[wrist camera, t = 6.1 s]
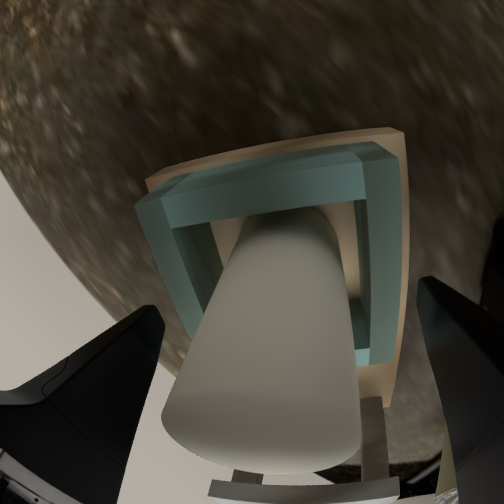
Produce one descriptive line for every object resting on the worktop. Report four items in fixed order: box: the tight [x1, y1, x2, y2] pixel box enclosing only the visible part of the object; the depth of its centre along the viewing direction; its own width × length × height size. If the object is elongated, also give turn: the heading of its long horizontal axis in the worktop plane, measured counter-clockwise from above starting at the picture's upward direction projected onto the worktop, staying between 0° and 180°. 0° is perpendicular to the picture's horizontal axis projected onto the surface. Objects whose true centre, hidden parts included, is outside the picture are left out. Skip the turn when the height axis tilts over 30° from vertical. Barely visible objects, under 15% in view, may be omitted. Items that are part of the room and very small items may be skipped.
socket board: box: [134, 127, 410, 504], centre depth 11 cm, size 10×16×10 cm, turn 13°
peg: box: [161, 206, 361, 475], centre depth 8 cm, size 4×4×8 cm
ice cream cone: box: [433, 420, 459, 504], centre depth 13 cm, size 5×5×15 cm
